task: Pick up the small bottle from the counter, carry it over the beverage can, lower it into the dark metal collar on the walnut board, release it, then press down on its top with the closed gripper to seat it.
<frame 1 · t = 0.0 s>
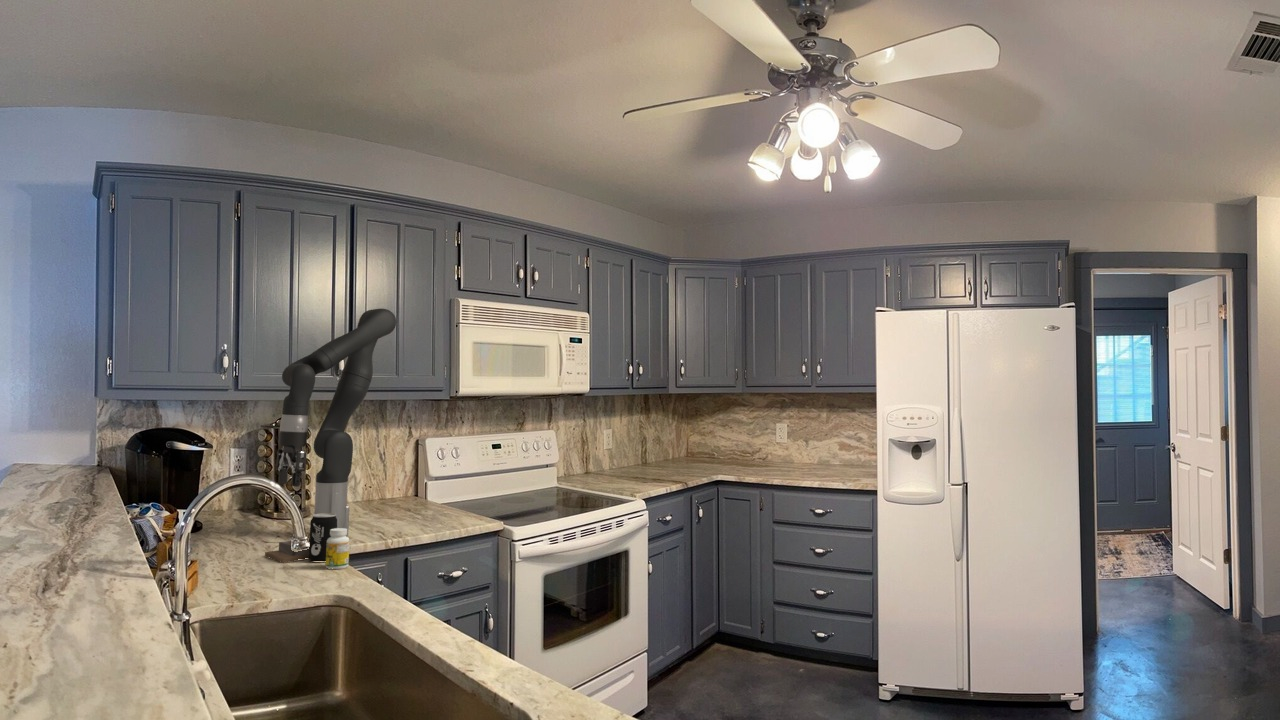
hand: (288, 485, 209), 17 cm above the worktop, tool pointing down, fingers open, 8 cm apart
supplement bottle: (336, 568, 178), on the worktop
bottle holder: (300, 555, 191), on the worktop
beverage can: (322, 561, 186), on the worktop
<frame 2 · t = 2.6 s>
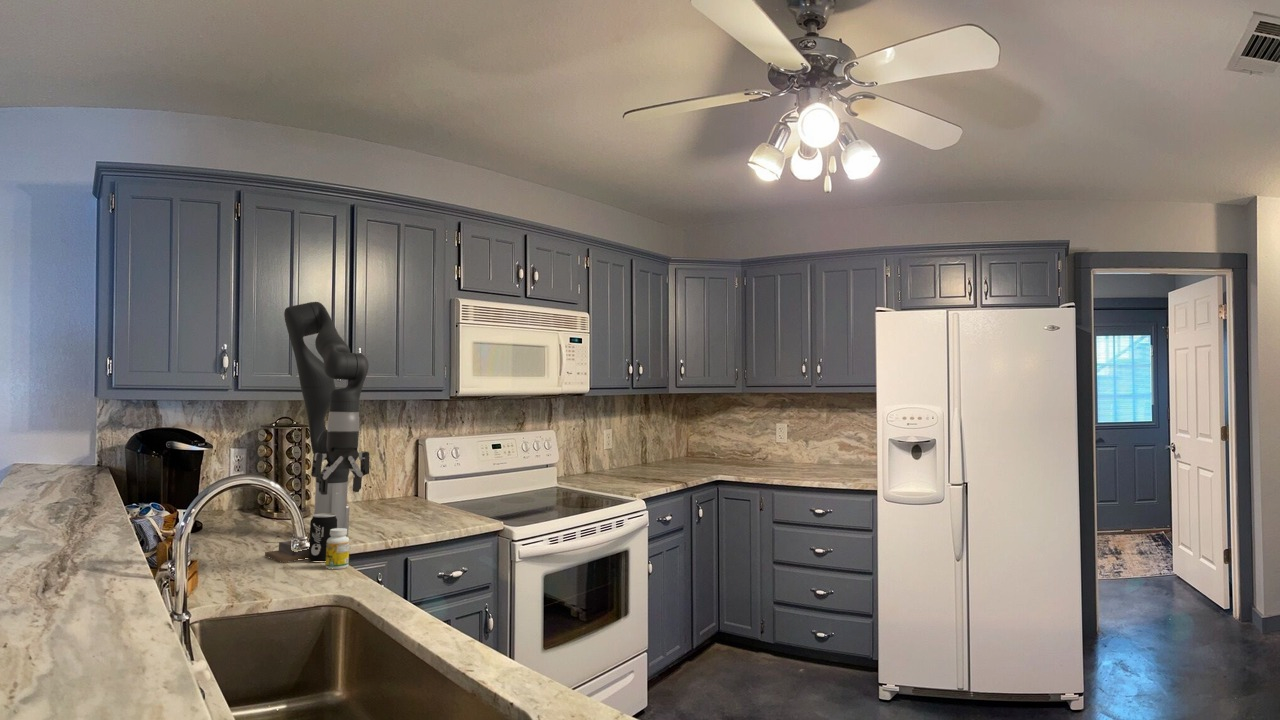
hand: (340, 493, 180), 19 cm above the worktop, tool pointing down, fingers open, 8 cm apart
nothing on the worktop moved.
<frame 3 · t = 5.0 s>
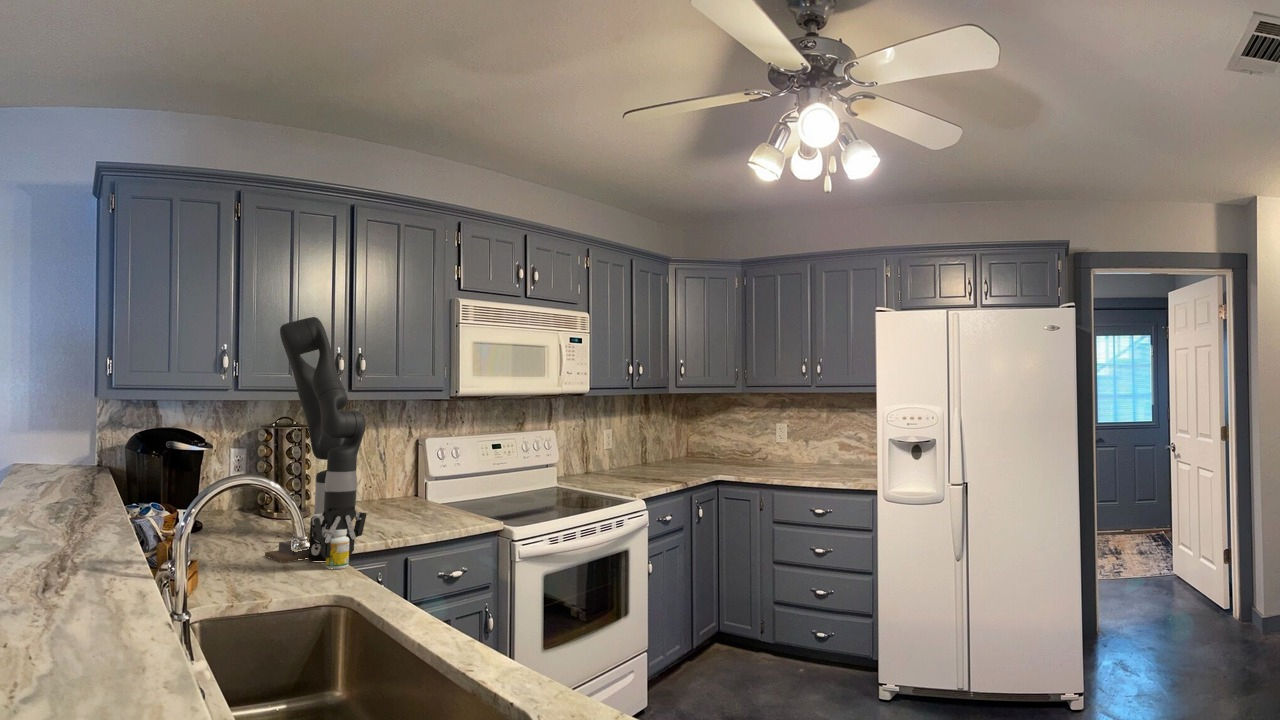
hand: (337, 555, 179), 3 cm above the worktop, tool pointing down, fingers closed on supplement bottle, 5 cm apart
supplement bottle: (336, 568, 178), on the worktop, touching gripper
everything else where it was.
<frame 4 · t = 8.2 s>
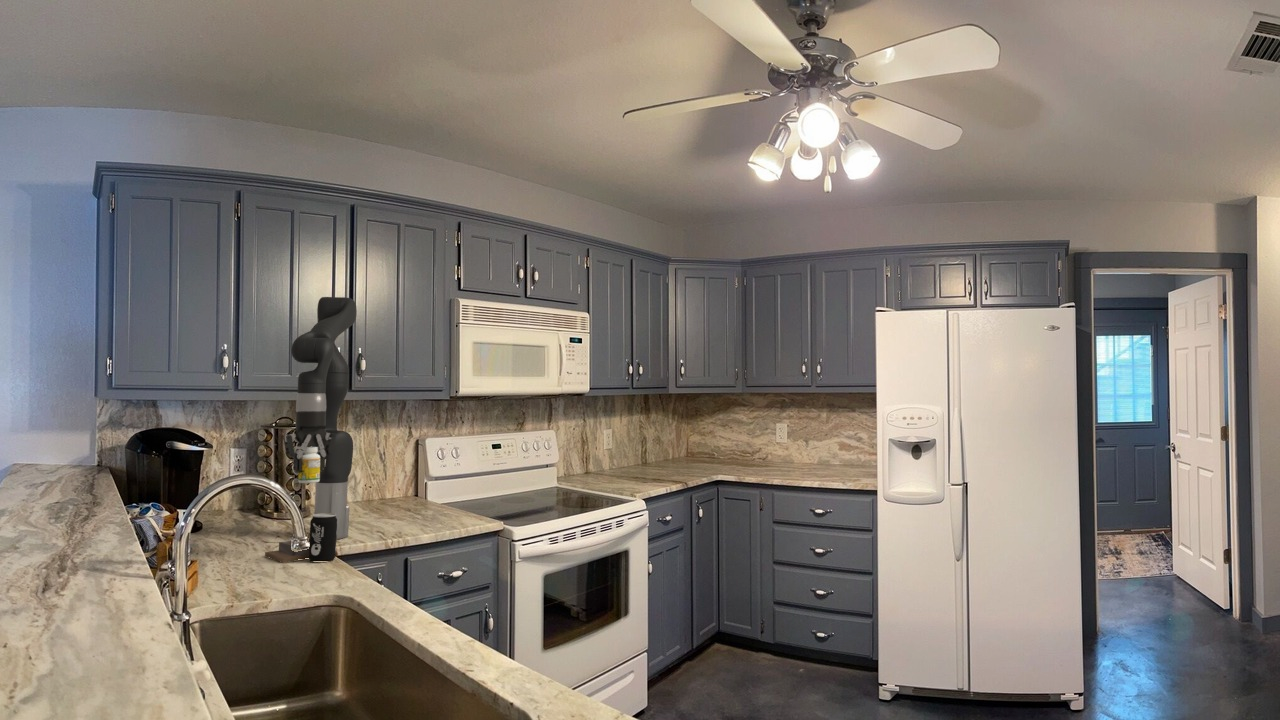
hand: (309, 471, 192), 23 cm above the worktop, tool pointing down, fingers closed on supplement bottle, 5 cm apart
supplement bottle: (308, 482, 192), point 20 cm above the worktop, touching gripper
everything else where it was.
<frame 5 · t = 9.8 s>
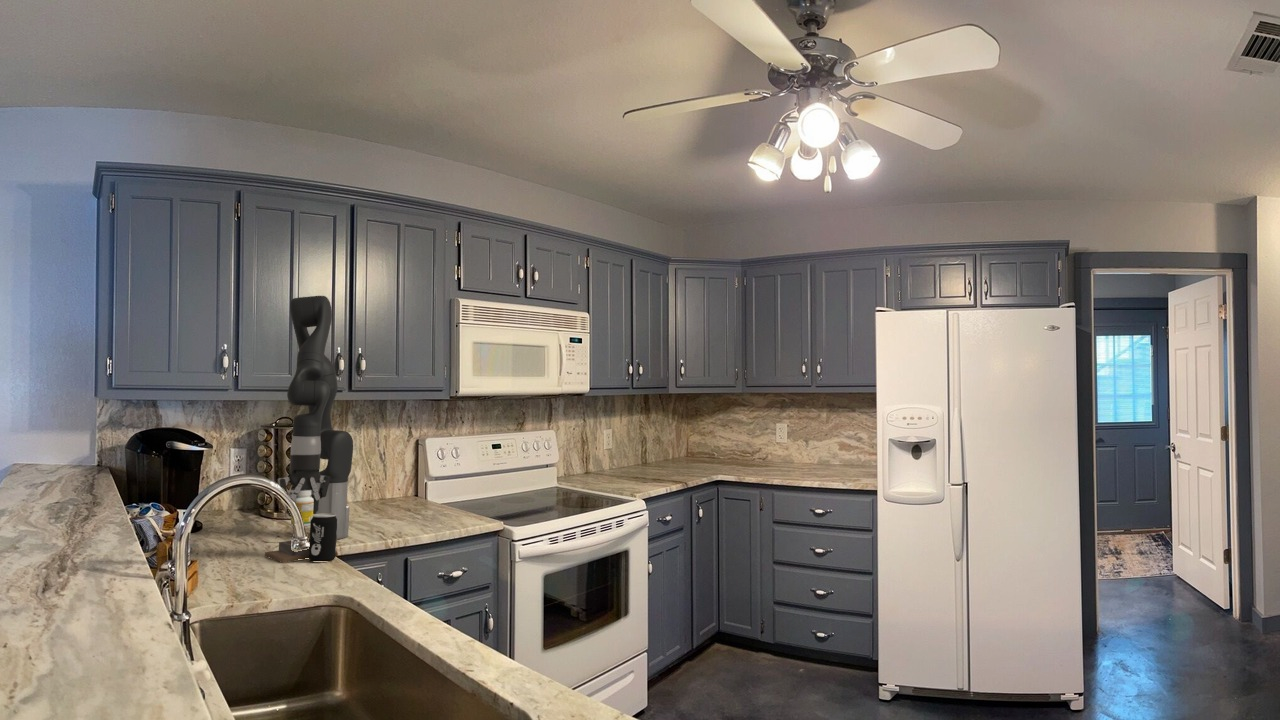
hand: (302, 514, 192), 11 cm above the worktop, tool pointing down, fingers closed on supplement bottle, 5 cm apart
supplement bottle: (301, 526, 192), point 8 cm above the worktop, touching gripper
everything else where it was.
when the fingers open (6 cm above the worktop, at t = 11.4 s): supplement bottle drops 1 cm, resting on bottle holder.
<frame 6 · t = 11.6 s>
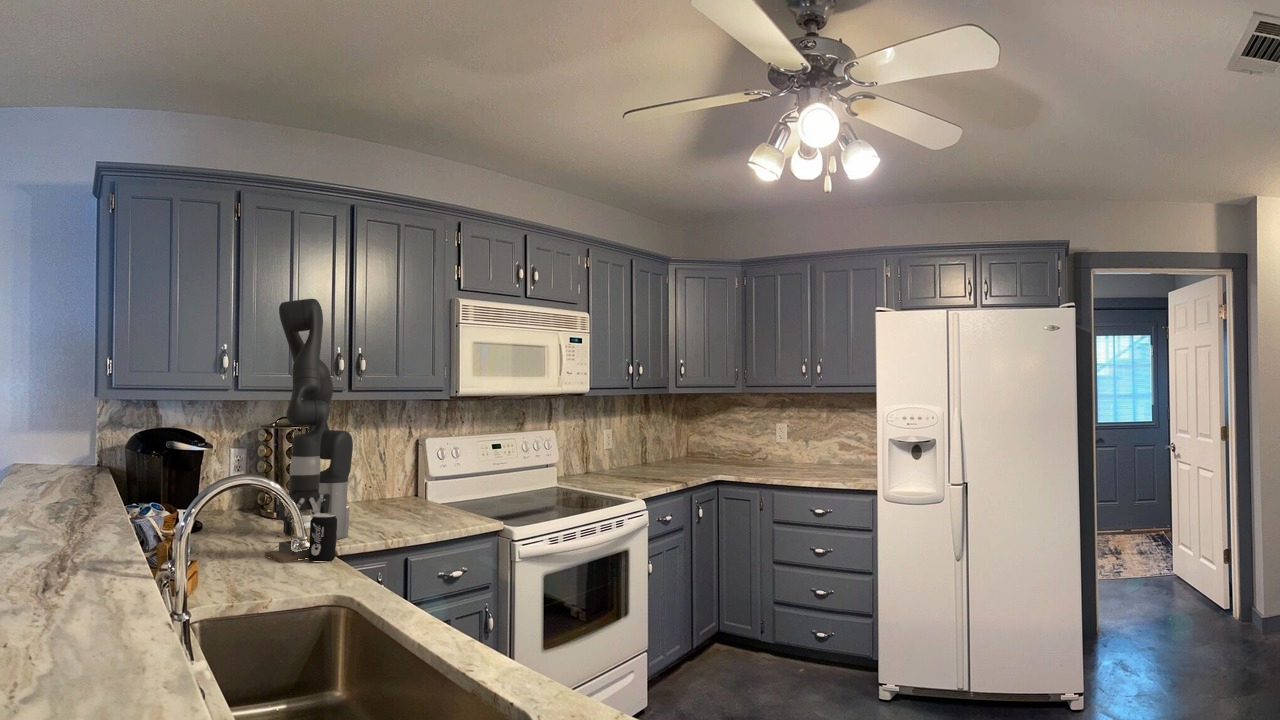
hand: (301, 533, 192), 6 cm above the worktop, tool pointing down, fingers open, 6 cm apart
supplement bottle: (301, 552, 191), point 1 cm above the worktop, touching bottle holder
everything else where it was.
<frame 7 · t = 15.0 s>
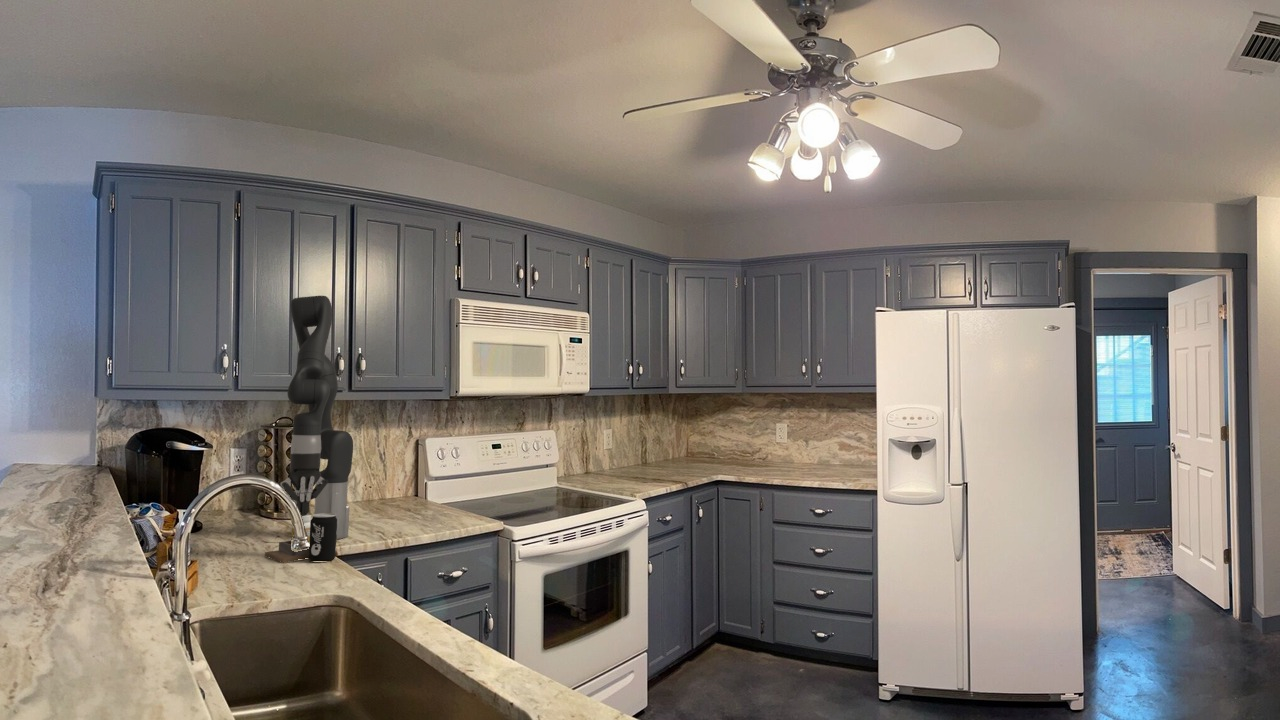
hand: (302, 515, 192), 11 cm above the worktop, tool pointing down, fingers closed
nothing on the worktop moved.
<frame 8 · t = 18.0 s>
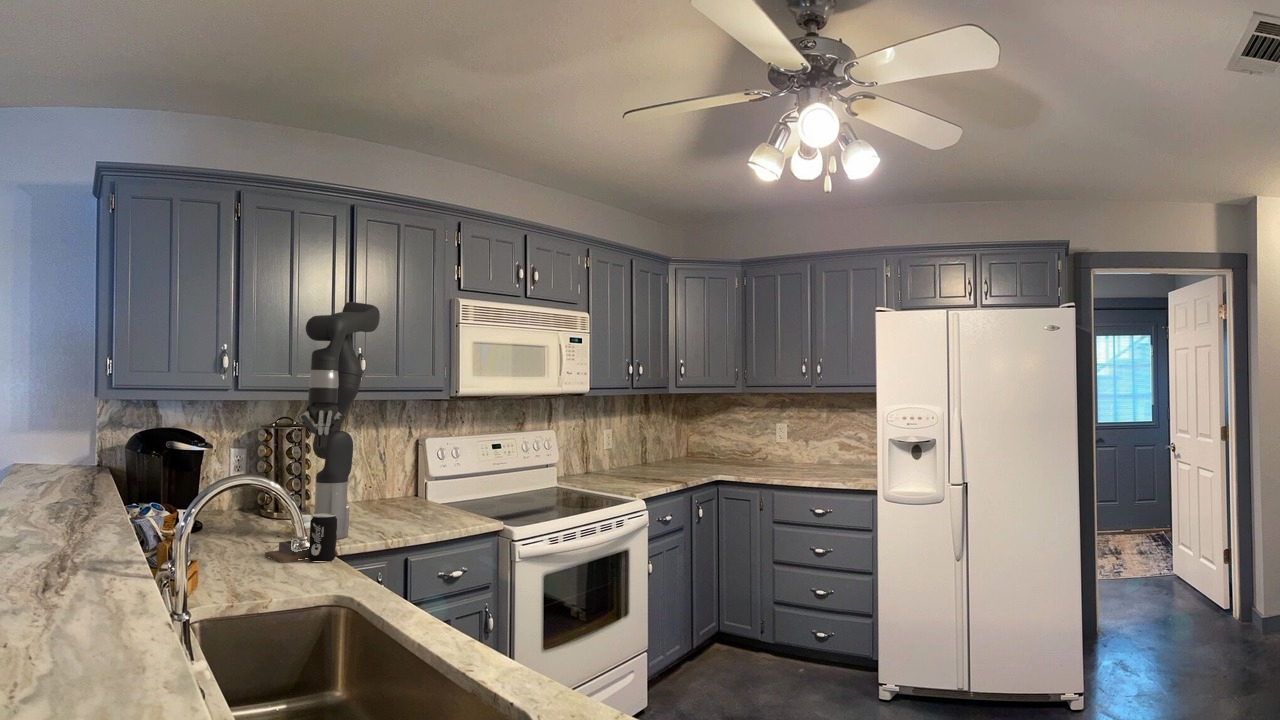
hand: (320, 448, 196), 29 cm above the worktop, tool pointing down, fingers closed
nothing on the worktop moved.
at the end: supplement bottle 0.2 cm from the bottle holder (horizontally); supplement bottle point 1.0 cm above the worktop; supplement bottle tilted 0° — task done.
